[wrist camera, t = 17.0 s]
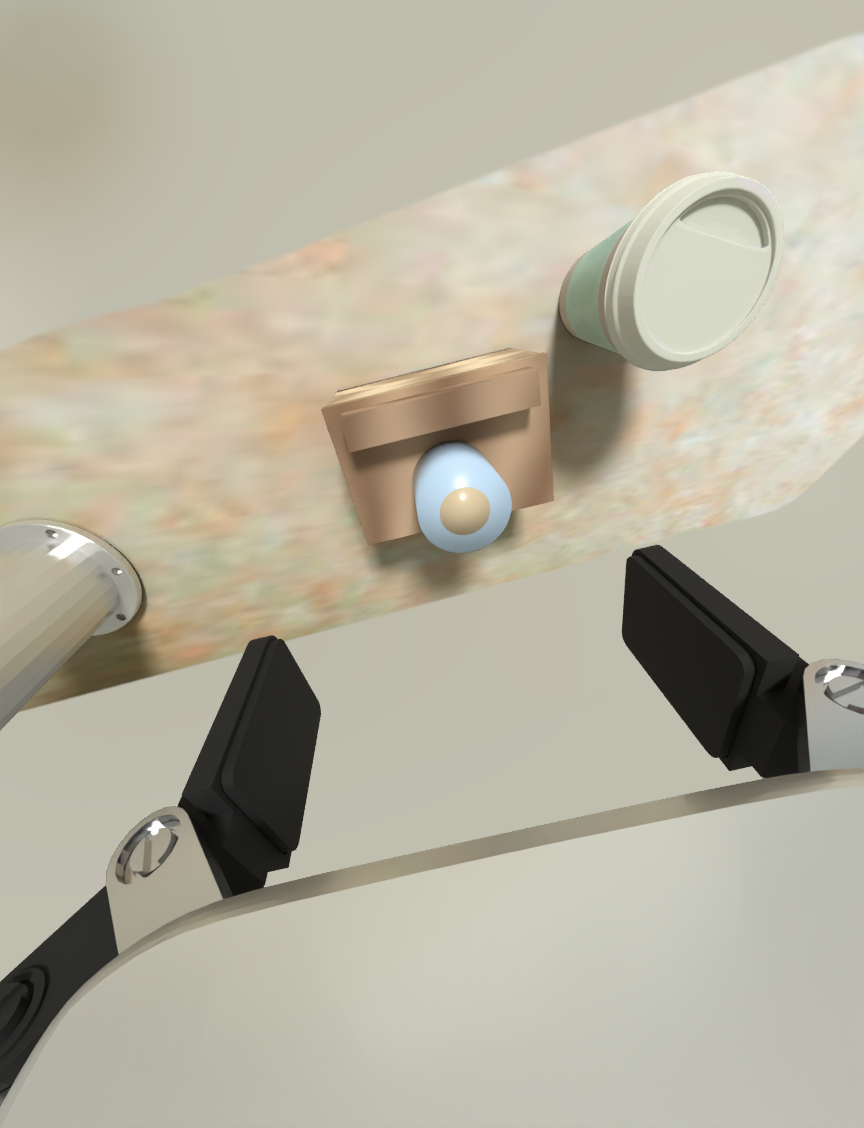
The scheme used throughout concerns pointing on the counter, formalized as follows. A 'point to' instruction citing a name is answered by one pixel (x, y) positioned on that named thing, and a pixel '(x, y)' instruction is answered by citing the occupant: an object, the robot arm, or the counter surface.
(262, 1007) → the robot arm
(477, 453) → the pale blue rounded block
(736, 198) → the coffee cup
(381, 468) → the lid
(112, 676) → the counter surface
